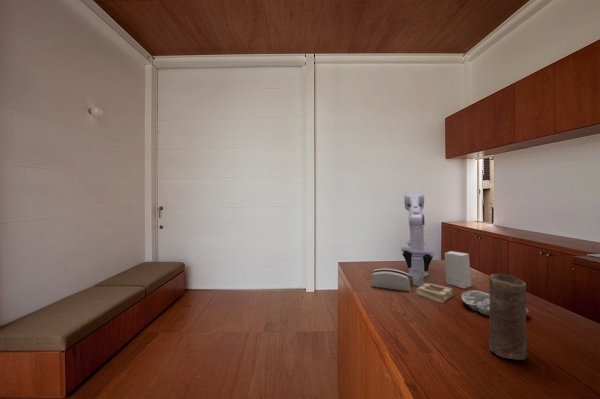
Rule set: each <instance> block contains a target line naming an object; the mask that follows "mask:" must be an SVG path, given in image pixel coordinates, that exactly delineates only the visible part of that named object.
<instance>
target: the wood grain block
mask: <svg viewBox="0 0 600 399" xmlns="http://www.w3.org/2000/svg"><path fill="white" fill-rule="evenodd" d="M426 283H427V282H426V281H424V277H423V272H420V271H416V270H414V271H413V277H412V286H416V287H420V286H422V285H424V284H426Z"/></svg>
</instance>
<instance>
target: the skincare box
mask: <svg viewBox="0 0 600 399" xmlns="http://www.w3.org/2000/svg"><path fill="white" fill-rule="evenodd" d="M470 262H471V261H470V254H469V253H466V252H460V251H459V252H458V251H453V250H451V251H447V252H444V263H445V264H444V266H445V267H444V268H445V280H446V284H447V285H451V286H454V287H457V288H461V289H467V288H470V287H472V276H471V264H470Z"/></svg>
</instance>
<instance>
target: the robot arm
mask: <svg viewBox="0 0 600 399" xmlns="http://www.w3.org/2000/svg"><path fill="white" fill-rule="evenodd" d="M403 198H404V199H403V200H404V201H403V202H404V203H403V204H404V209H405V210H406V211H408V214H409V215H408V226H409V227H408V228H409V239H408V240H407V241H406V243H405V246H403V247H401V248H400V250H401V251H400V252H402V253H401V255H402V256H403V258H404V260H405V262H406V266H407V269H408V272H406V273H407V274H408V277H412V278H413V271H414V270H416V271H420V272H423V278H424V277H427V276H429V275H430V274H429V273H428V271H429V267H430V264H431V262H432V260H433V259H434V257H435V256H436V254H435V251H433V250H427V244H426V242H425V238H424V237H425V236H424V234H425V233H424V227H425V225H426V224H425V223H426V222H425V221H426V220H425V214H424V213H423V209H424V205H425V194H424V192H420V193H419V192H417V193H415V192H414V193H413V192H412V193H411V192H410V193H404V196H403Z"/></svg>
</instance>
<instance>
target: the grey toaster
mask: <svg viewBox="0 0 600 399" xmlns="http://www.w3.org/2000/svg"><path fill="white" fill-rule="evenodd" d="M407 273H408V272H405V271H402V270H398V269H395V268H378V269H374V270H373V272H372V274H371V287H373V286H374V287H375V288H381V287H382V288H381V289H389V290H396V291H406V292H411V283H410V278H409V277H410V276H408V274H407ZM374 287H373V288H374Z"/></svg>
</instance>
